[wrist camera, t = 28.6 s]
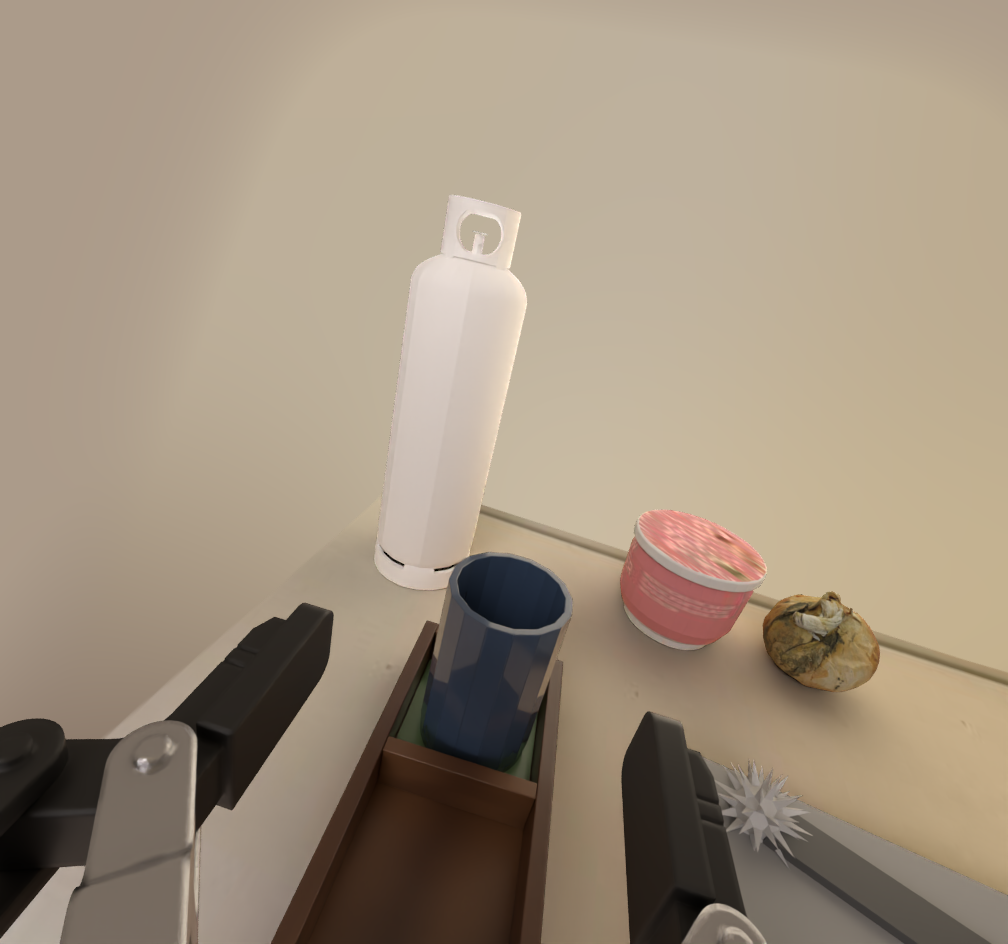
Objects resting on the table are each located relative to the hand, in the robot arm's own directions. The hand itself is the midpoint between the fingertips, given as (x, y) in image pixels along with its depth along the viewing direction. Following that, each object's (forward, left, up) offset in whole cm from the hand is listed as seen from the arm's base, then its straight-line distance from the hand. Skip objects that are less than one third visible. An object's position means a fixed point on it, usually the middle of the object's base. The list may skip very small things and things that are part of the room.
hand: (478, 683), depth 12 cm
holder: (0, +7, -16) cm, 17 cm away
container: (+14, +28, -16) cm, 35 cm away
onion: (+25, +26, -16) cm, 39 cm away
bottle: (-8, +26, -16) cm, 31 cm away
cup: (0, +11, -15) cm, 19 cm away
